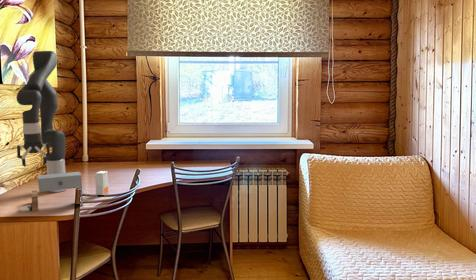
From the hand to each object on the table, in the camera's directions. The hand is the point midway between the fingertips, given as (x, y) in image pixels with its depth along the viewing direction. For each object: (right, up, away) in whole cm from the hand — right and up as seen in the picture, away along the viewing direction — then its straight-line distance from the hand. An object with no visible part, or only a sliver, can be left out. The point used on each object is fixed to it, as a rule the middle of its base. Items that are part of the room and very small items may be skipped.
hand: (34, 165), depth 206 cm
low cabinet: (+14, -19, -4) cm, 24 cm away
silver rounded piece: (+1, -20, -10) cm, 23 cm away
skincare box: (+27, -17, +18) cm, 37 cm away
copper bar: (+2, -20, -3) cm, 20 cm away
